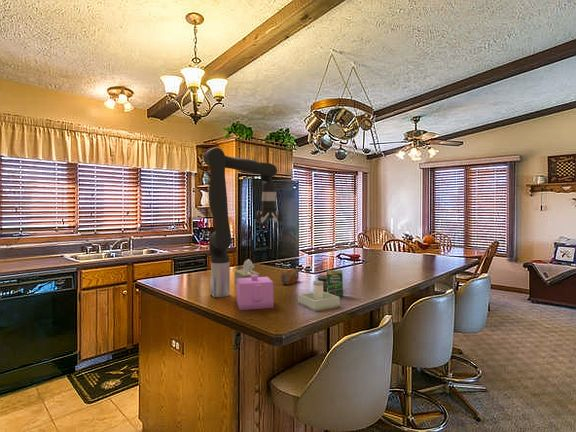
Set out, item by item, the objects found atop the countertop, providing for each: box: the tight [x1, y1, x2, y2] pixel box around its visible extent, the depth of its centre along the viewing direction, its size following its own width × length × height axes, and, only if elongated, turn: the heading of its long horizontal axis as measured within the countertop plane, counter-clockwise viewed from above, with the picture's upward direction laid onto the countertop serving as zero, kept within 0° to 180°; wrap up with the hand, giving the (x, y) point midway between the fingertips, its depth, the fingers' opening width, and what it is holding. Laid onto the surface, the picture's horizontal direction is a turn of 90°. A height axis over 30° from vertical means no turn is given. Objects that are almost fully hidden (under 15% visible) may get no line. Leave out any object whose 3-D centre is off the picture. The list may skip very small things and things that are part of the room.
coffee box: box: [326, 269, 344, 298], centre depth 177 cm, size 8×3×13 cm, turn 90°
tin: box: [280, 268, 299, 285], centre depth 209 cm, size 15×3×8 cm, turn 143°
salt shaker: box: [312, 280, 323, 300], centre depth 160 cm, size 4×4×10 cm
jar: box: [317, 274, 327, 293], centre depth 189 cm, size 10×10×8 cm
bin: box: [297, 291, 341, 312], centre depth 160 cm, size 14×14×4 cm
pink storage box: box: [236, 275, 274, 311], centre depth 160 cm, size 15×25×14 cm, turn 15°
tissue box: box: [234, 258, 261, 285], centre depth 202 cm, size 19×10×16 cm, turn 25°
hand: (268, 229), depth 192 cm, fingers open, 8 cm apart
